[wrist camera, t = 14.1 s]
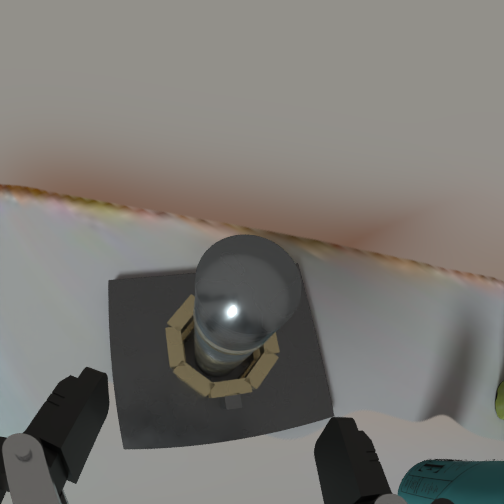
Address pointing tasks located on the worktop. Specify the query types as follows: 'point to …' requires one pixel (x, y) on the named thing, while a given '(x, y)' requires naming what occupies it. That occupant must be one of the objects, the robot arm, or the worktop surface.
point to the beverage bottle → (454, 482)
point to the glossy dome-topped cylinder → (241, 300)
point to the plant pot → (500, 401)
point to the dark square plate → (198, 383)
